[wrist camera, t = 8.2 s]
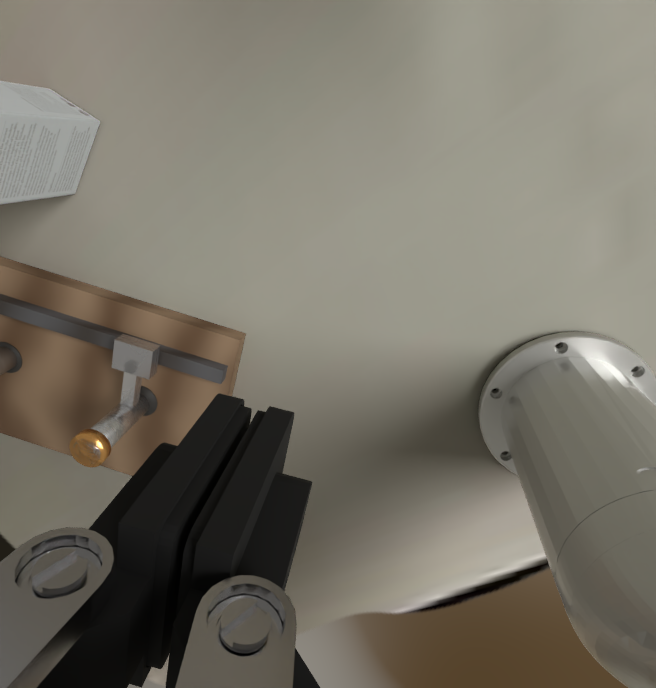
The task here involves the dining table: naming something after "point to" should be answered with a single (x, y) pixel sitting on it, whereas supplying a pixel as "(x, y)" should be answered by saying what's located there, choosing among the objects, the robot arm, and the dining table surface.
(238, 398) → the robot arm
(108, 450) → the track spotlight
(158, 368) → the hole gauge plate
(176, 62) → the dining table surface
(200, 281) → the dining table surface
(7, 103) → the skincare box
